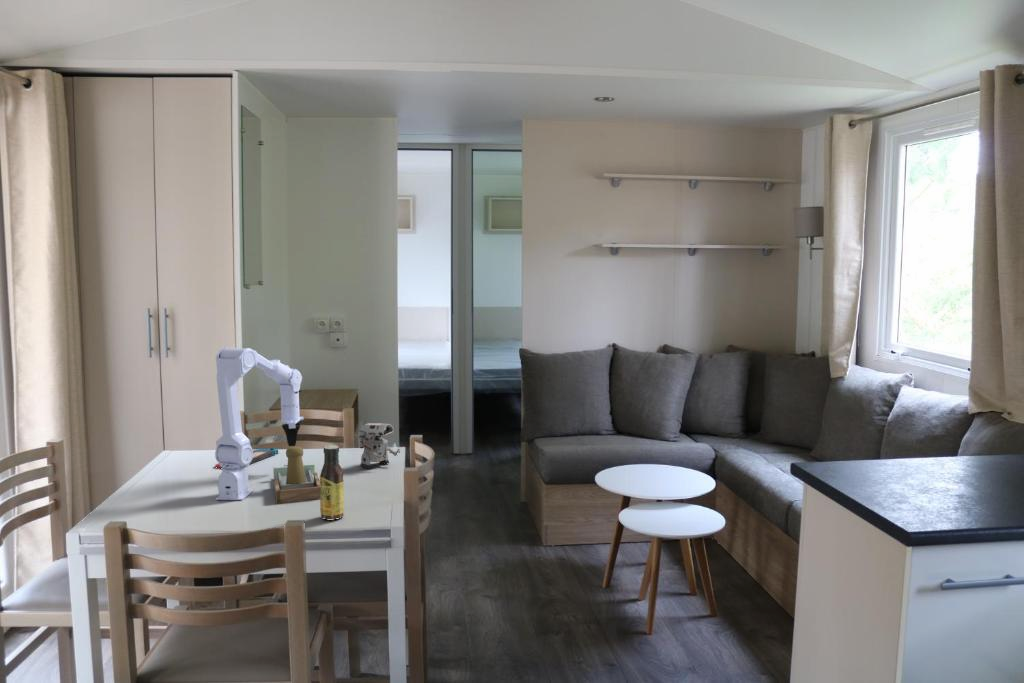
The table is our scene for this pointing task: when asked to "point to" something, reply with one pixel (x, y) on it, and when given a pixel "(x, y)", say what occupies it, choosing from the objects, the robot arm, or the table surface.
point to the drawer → (282, 475)
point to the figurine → (376, 444)
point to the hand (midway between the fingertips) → (291, 445)
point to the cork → (295, 466)
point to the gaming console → (259, 455)
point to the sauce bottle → (331, 485)
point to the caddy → (297, 492)
